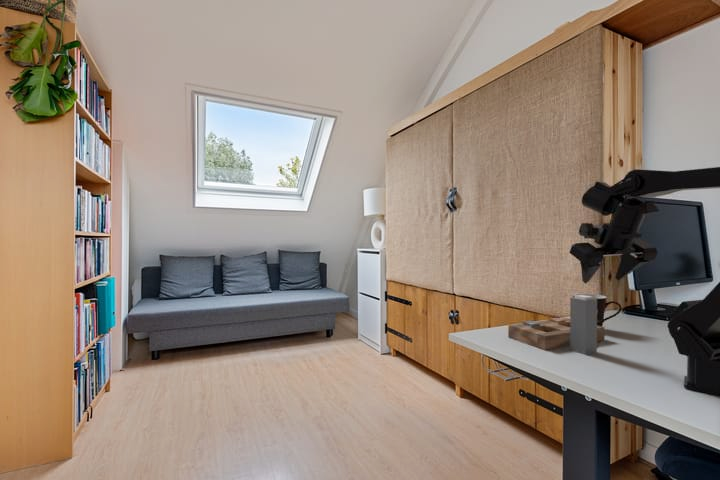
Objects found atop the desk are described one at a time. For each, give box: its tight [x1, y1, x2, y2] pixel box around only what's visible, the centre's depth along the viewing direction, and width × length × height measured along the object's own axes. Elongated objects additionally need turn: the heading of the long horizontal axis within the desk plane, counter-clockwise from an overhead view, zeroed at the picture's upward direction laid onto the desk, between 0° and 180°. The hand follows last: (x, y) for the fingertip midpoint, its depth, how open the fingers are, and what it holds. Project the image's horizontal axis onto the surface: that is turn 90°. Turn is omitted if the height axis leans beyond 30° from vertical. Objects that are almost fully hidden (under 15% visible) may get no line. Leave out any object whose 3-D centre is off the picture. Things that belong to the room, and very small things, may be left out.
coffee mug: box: [572, 293, 622, 327], centre depth 109 cm, size 12×9×10 cm
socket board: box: [507, 317, 605, 351], centre depth 100 cm, size 12×22×4 cm, turn 112°
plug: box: [569, 295, 598, 356], centre depth 89 cm, size 4×4×14 cm
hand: (601, 280), depth 90 cm, fingers open, 9 cm apart
